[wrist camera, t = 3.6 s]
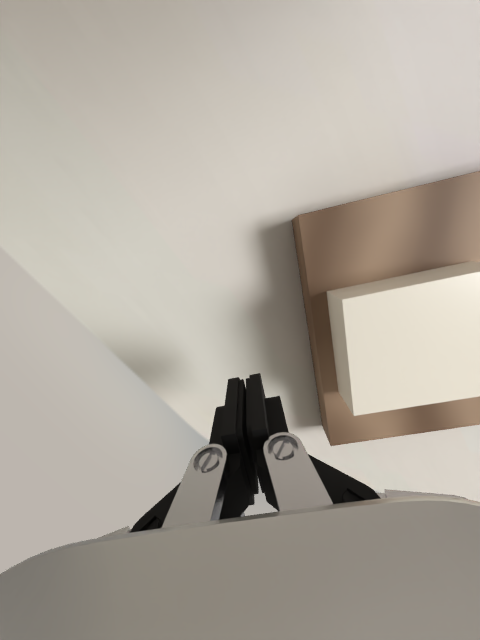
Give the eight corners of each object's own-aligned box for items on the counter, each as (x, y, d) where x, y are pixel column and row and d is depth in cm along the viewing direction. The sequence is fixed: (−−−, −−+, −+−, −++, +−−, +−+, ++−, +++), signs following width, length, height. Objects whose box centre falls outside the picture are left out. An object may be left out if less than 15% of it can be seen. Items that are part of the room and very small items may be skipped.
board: (537, 160, 13) (586, 145, 11) (508, 397, 17) (540, 415, 16) (291, 219, 14) (298, 215, 13) (322, 426, 19) (330, 445, 17)
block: (470, 261, 13) (519, 263, 11) (464, 370, 15) (504, 392, 13) (326, 291, 14) (342, 299, 11) (338, 391, 16) (353, 415, 13)
